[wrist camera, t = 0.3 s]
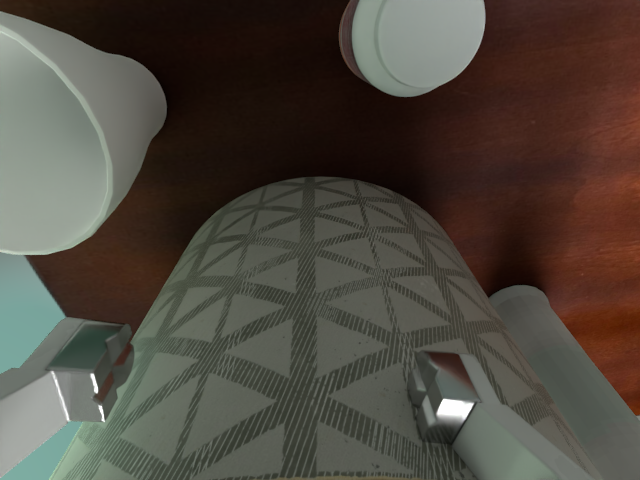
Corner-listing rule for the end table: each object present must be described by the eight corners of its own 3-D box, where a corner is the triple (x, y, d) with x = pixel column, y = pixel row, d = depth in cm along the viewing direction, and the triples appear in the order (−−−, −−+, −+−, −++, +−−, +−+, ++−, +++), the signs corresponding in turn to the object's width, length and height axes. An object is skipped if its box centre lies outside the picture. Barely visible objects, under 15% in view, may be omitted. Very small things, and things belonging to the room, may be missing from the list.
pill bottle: (368, 100, 27) (403, 133, 17) (320, 23, 24) (330, 13, 15) (441, 45, 25) (524, 48, 16) (398, -44, 23) (466, -104, 13)
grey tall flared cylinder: (504, 263, 35) (1057, 928, 9) (579, 292, 37) (1222, 916, 11) (450, 329, 39) (714, 908, 13) (520, 353, 41) (873, 902, 15)
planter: (193, 130, 27) (-178, 438, 7) (494, 188, 30) (878, 534, 9) (189, 352, 40) (55, 694, 19) (401, 379, 43) (481, 705, 22)
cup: (88, 176, 29) (-60, 268, 17) (19, 28, 24) (-258, 17, 12) (213, 159, 29) (150, 242, 17) (171, 6, 24) (38, -27, 12)
